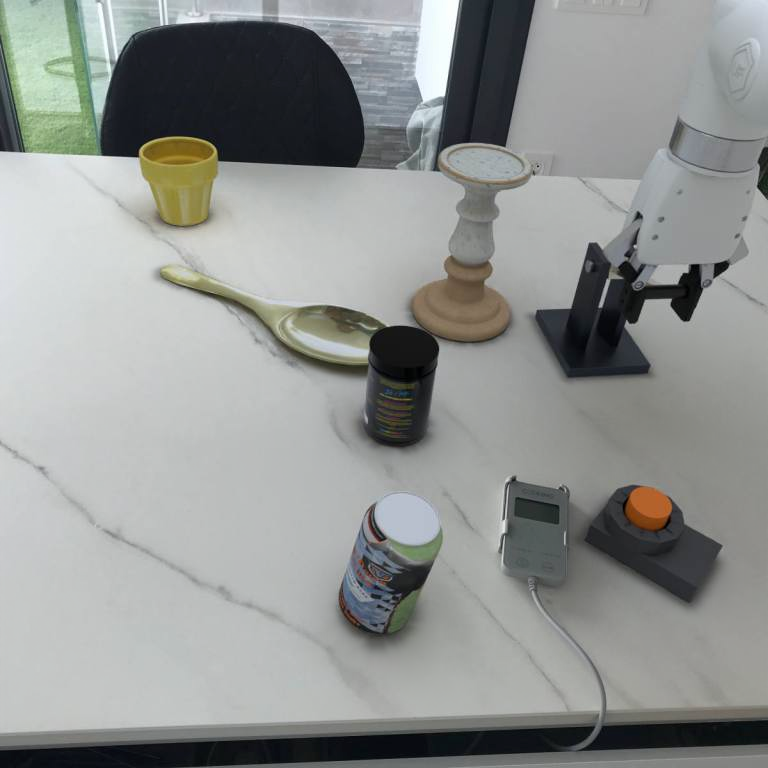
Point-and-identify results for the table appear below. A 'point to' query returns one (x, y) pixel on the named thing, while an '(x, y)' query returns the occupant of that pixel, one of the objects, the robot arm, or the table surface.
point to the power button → (648, 508)
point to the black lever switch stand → (593, 325)
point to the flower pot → (180, 177)
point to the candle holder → (471, 245)
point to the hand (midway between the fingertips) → (653, 313)
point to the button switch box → (655, 546)
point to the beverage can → (390, 562)
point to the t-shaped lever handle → (656, 287)
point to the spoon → (298, 320)
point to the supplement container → (400, 384)
